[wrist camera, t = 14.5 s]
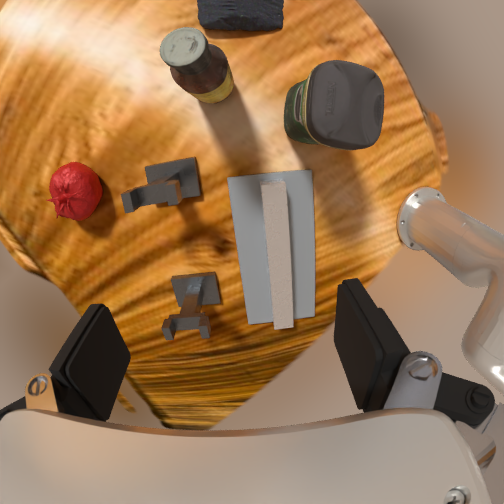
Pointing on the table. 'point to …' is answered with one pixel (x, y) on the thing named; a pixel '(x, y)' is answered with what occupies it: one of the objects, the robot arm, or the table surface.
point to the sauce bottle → (197, 65)
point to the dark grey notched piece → (241, 14)
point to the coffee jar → (336, 107)
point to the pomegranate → (75, 191)
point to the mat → (254, 243)
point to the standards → (185, 286)
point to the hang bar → (278, 250)
